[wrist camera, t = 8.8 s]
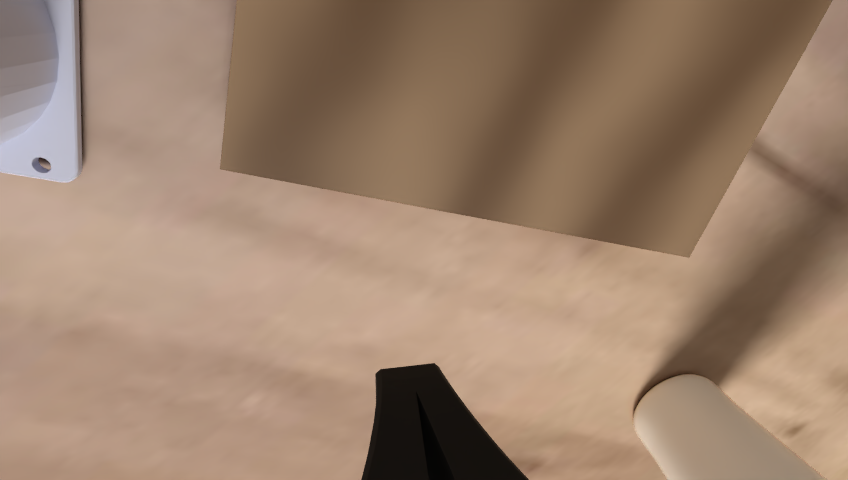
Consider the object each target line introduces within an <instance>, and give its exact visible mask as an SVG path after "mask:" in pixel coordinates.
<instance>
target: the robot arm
mask: <svg viewBox="0 0 848 480" xmlns="http://www.w3.org/2000/svg"><path fill="white" fill-rule="evenodd" d="M39 157H41V158H44V159H46V160H47V161H48V162H49V163H50V165H51V169H46V168H43V167H42V166H41V165H40V163H39V161H38V159H39ZM0 172H2V173H8V174H14V175H20V176H26V177H32V178H38V179H44V180H50V181H56V182H70V181H73V180H74V179H76V178H77V177H78V176H79V175H80V174H81V172H82V134H81V88H80V42H79V0H0ZM362 480H529V479H528V478H527V477H526V476H525V475H524V474H523V473H522V472H521V471H520V470H519V469H518V468H517V467H516V465H515V464H514V463H513V462H512V461H511V460H510V459H509V458H508V457H507V456H506V455H505V453H504V452H503V451H502V450H501V449H500V448H499V447H498V445H497V444H496V443H495V442H494V441H493V440H492V438H491V437H490V436H489V435H488V433H487V432H486V431H485V430H484V429H483V427H482V426H481V425H480V424H479V422H478V421H477V420H476V419H475V418H474V416H473V415H472V414H471V412H470V411H469V410H468V408H467V407H466V406H465V404H464V403H463V402H462V400H461V399H460V398H459V396H458V395H457V394H456V392H455V391H454V389H453V388H452V386H451V385H450V384H449V382H448V381H447V379H446V378H445V376H444V375H443V373H442V371H441V370H440V368H439V367H438V366H437V365H436V364H435V363H433V364H424V365H415V366H406V367H397V368H388V369H380V370H379V371H378V372H377V373H376V409H375V418H374V424H373V430H372V435H371V441H370V446H369V451H368V456H367V460H366V464H365V468H364V472H363V476H362Z"/></svg>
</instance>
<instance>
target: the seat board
mask: <svg viewBox="0 0 848 480" xmlns="http://www.w3.org/2000/svg"><path fill="white" fill-rule="evenodd" d="M831 2H832V0H237V3H236V13H235V23H234V33H233V43H232V53H231V63H230V73H229V83H228V93H227V103H226V113H225V123H224V133H223V144H222V154H221V164H220V169H222V170H227V171H232V172H238V173H243V174H248V175H253V176H259V177H264V178H269V179H275V180H280V181H285V182H291V183H296V184H301V185H307V186H312V187H317V188H322V189H328V190H333V191H338V192H344V193H349V194H354V195H360V196H365V197H370V198H376V199H381V200H386V201H391V202H397V203H402V204H407V205H413V206H418V207H423V208H429V209H434V210H439V211H445V212H450V213H455V214H461V215H466V216H471V217H476V218H482V219H487V220H492V221H498V222H503V223H508V224H514V225H519V226H524V227H530V228H535V229H540V230H545V231H551V232H556V233H561V234H567V235H572V236H577V237H583V238H588V239H593V240H599V241H604V242H609V243H614V244H620V245H625V246H630V247H636V248H641V249H646V250H652V251H657V252H662V253H668V254H673V255H678V256H683V257H690V255H691V253H692V251H693V250H694V248H695V246H696V244H697V242H698V241H699V239H700V237H701V235H702V234H703V232H704V230H705V228H706V226H707V225H708V223H709V221H710V219H711V217H712V216H713V214H714V212H715V210H716V208H717V207H718V205H719V203H720V201H721V199H722V198H723V196H724V194H725V192H726V190H727V189H728V187H729V185H730V183H731V182H732V180H733V178H734V176H735V174H736V173H737V171H738V169H739V167H740V165H741V164H742V162H743V160H744V158H745V156H746V155H747V153H748V151H749V149H750V147H751V146H752V144H753V142H754V140H755V138H756V137H757V135H758V133H759V131H760V130H761V128H762V126H763V124H764V122H765V121H766V119H767V117H768V115H769V113H770V112H771V110H772V108H773V106H774V104H775V103H776V101H777V99H778V97H779V95H780V94H781V92H782V90H783V88H784V86H785V85H786V83H787V81H788V79H789V78H790V76H791V74H792V72H793V70H794V69H795V67H796V65H797V63H798V61H799V60H800V58H801V56H802V54H803V52H804V51H805V49H806V47H807V45H808V43H809V42H810V40H811V38H812V36H813V34H814V33H815V31H816V29H817V27H818V26H819V24H820V22H821V20H822V18H823V17H824V15H825V13H826V11H827V9H828V8H829V6H830V4H831Z"/></svg>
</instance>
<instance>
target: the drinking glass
mask: <svg viewBox="0 0 848 480" xmlns="http://www.w3.org/2000/svg"><path fill="white" fill-rule="evenodd" d="M633 425H634V429H635V432H636V434H637V436H638V437H639V439H640V440H641V442H642V443H643V445H644V446H645V447H646V449H647V450H648V451H649V453H650V454H651V456H652V457H653V458H654V460H655V461H656V463H657V464H658V466H659V468H660V469H661V471H662V472H663V474H664V475H665V477H666V479H667V480H827V479H826V478H825V477H824V476H822V475H821V474H820V473H819V472H818V471H816V470H815V469H814V468H813V467H812V466H810V465H809V464H808V463H807V462H805V461H804V460H803V459H802V458H801V457H799V456H798V455H797V454H796V453H795V452H793V451H792V450H791V449H790V448H789V447H787V446H786V445H785V444H784V443H782V442H781V441H780V440H779V439H778V438H776V437H775V436H774V435H773V434H772V433H770V432H769V431H768V430H767V429H766V428H764V427H763V426H762V425H761V424H760V423H758V422H757V421H756V420H755V419H754V418H752V417H751V416H750V415H749V414H748V413H746V412H745V411H744V410H743V409H742V408H741V407H739V406H738V405H737V404H736V403H735V402H734V401H733V400H732V399H731V398H730V397H729V396H728V395H726V394H725V393H724V392H723V391H722V390H721V389H720V388H719V387H718V386H717V385H716V384H715V383H714V382H712V381H711V380H709V379H707V378H705V377H703V376H700V375H695V374H684V375H678V376H674V377H671V378H669V379H666V380H664V381H662V382H661V383H659V384H657V385H656V386H654V387H653V388H652V389H651V390H649V391H648V392H647V393H646V394H645V395H644V397H643V398H642V399H641V400H640V402H639V404H638V405H637V407H636V410H635V412H634V417H633Z"/></svg>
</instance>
